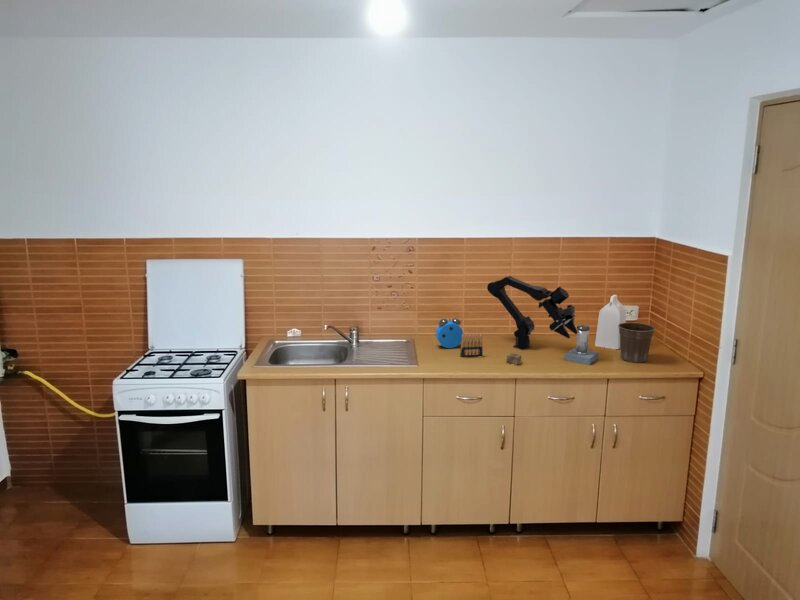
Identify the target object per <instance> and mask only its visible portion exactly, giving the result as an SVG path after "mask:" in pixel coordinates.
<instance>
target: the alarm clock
mask: <svg viewBox="0 0 800 600" xmlns="http://www.w3.org/2000/svg"><path fill="white" fill-rule="evenodd" d="M461 322H462V321H461V320H460V319H459V318H457V317H453V318H452V319H446V318H441V319H440V320H439V321H438V326H437V327H436V329H435V330H436V331H435V338H436V340H437V341H438V343H439V344H440V345H441V347H444V348H446V349H454V348H457V347H458V346H459V345H461V341H462V334H464V331H463V329H462V327H461V324H462V323H461Z"/></svg>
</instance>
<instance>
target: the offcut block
mask: <svg viewBox="0 0 800 600" xmlns="http://www.w3.org/2000/svg"><path fill="white" fill-rule="evenodd" d="M520 362H521V363H522V354H518V353H513V352H511V353H509V354H507V355H506V364H507V363H509V364H508V365H511V364H514V365H513V366H516V365H517V364H518V365H519V363H520ZM521 363H520V364H521ZM518 365H517V366H518Z"/></svg>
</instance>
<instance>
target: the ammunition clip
mask: <svg viewBox="0 0 800 600" xmlns="http://www.w3.org/2000/svg"><path fill="white" fill-rule="evenodd" d="M468 335H469V336H468ZM459 356H460V358H461V357H467V358H479V357H478V356H483V334H482V332H480V334H479V332H476V334H475V332H473V333H471V332H470V333H469V334H468V332H466V333H465V334H464V333H463V334H462V341H461V343H460V353H459Z"/></svg>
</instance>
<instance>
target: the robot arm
mask: <svg viewBox="0 0 800 600" xmlns="http://www.w3.org/2000/svg"><path fill="white" fill-rule="evenodd" d="M506 286H509V287H512V288H514V289H516V290H519V291H521V292H522V293H523V292H524V293H526V294H528V295H529V296H530V297H531V298H532V299H534V300H535V301H538V309H540V308H544V309H545V311H546V312H547V314H548V315H547V316H548V318H551V319H552V321H553V322H551V323H550V324H549V329H550V330H551V332H554V333H557V334H559V335H561V336H563V337H564V338H567V339H570V338H571V335H570V334H569V331H571V332H572V333H573V334H575V335H577V331H578V329H577V326H576V325H575V318H576V315H575V313H576V312H575V309H576V307H574V305H573V304H568V305H566V308H562V307H561V306H560V307H559V306H558V305H561V304H562V303H564V302H565V301H566V300H567V299H568V298H569V297H570V295H569V293H568V291H567V290H566V289H564V288H562V287H561V286H558V287H556V289H554V290H552V291H551V290H548V288H546V287H545V286H538V285H532V284H530V283H527V282H525V281H522V280H519V279H517V278H515V277H513V276H511V275H507V276H505V277H503V278H501V279H499V280H494V281H490V282H488V284H487V287H486V288H487V291H488V293H490V295H492V296H493V297H494V298H496V299H498V301H499V302H500V303H501V304H502V306H503V307H504V309H506V311H507V312H508V314H509V315H510V316H511V318H512V319H513V320H514V322H515V325H516V326H515V327H516V328H517V329H516V330H515V331H514V332H513V335H514V337H515V344H514V345H513V346H512V347H514V348H516V349H519V350H526V349H530V348H532V346H531V345H530V341H531V339H530V335H531V334H532V332H533V331H534V330H535V322H534V321H533V320H532V319H531V317H530V316H529V315H528V316H524V314H523V313H522V312H521V310H519V309H518V307H517V306H516V304H515V303H514V301H513V300H512V299H511V298H510V296H509V295H508V294H507V292H506ZM539 301H540V302H539ZM567 329H568V330H569V331H567Z"/></svg>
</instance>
